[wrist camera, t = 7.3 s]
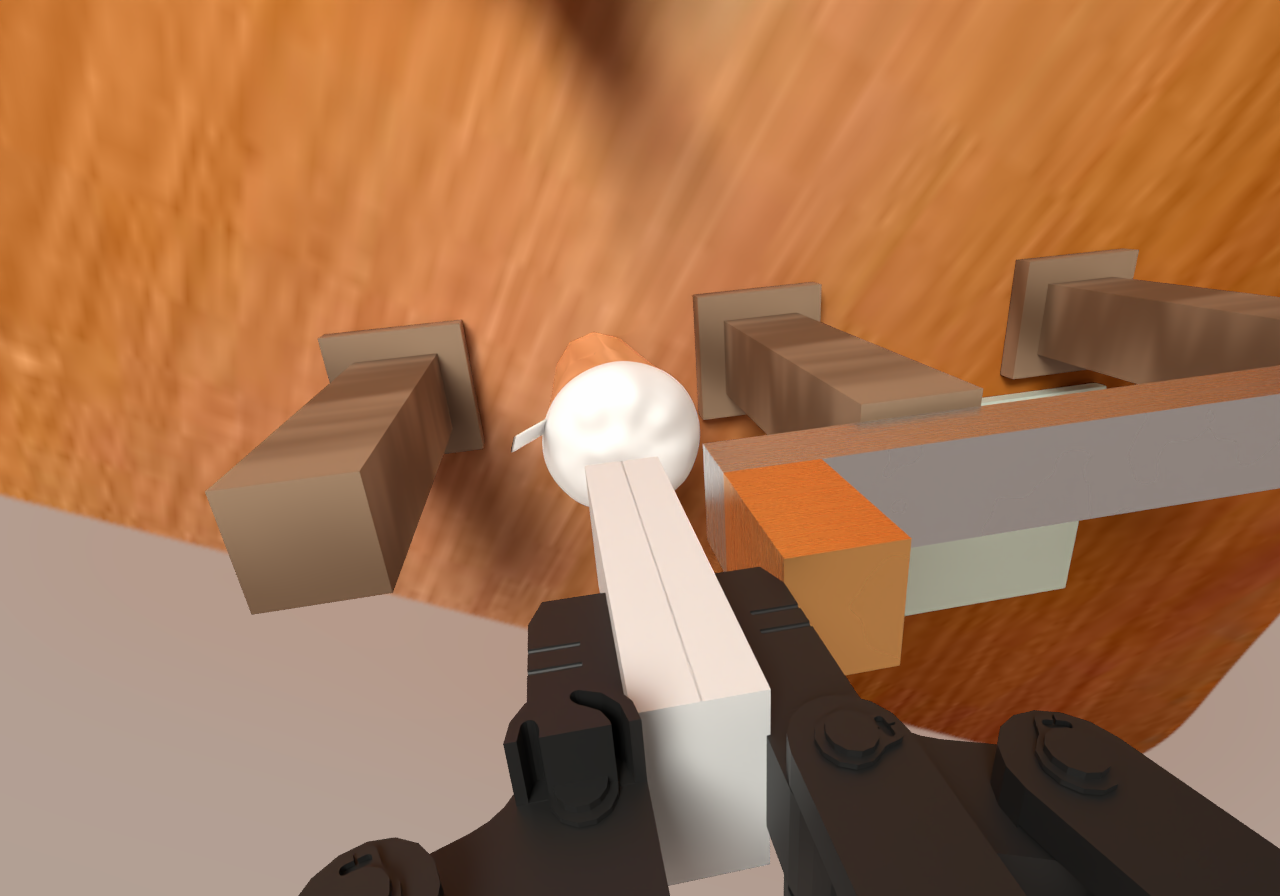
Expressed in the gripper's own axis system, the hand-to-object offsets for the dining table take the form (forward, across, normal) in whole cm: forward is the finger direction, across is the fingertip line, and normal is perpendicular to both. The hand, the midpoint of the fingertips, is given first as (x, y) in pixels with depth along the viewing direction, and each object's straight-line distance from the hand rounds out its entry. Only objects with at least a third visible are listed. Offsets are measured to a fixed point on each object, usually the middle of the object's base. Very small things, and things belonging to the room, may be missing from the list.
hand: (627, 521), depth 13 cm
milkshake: (+14, 0, 0) cm, 14 cm away
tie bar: (+1, +11, 0) cm, 11 cm away
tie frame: (+13, +7, 0) cm, 15 cm away
